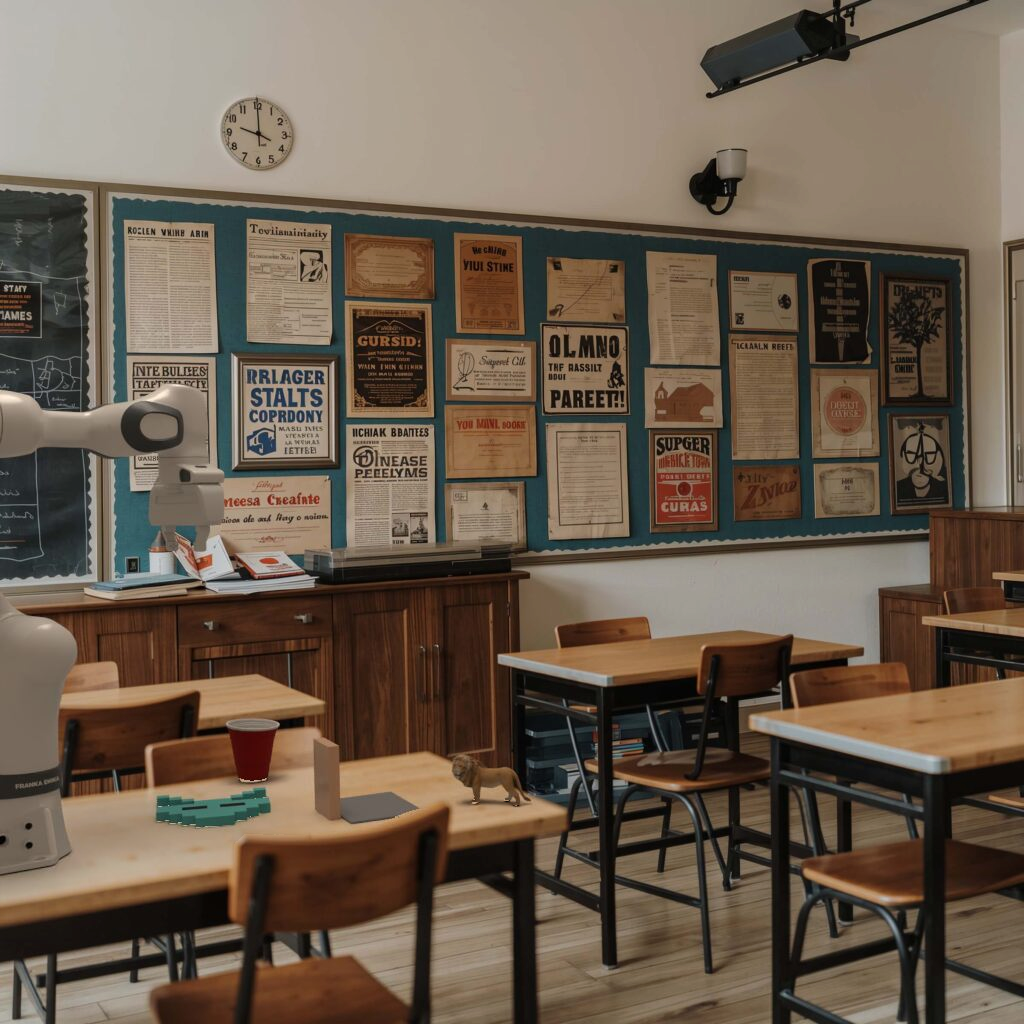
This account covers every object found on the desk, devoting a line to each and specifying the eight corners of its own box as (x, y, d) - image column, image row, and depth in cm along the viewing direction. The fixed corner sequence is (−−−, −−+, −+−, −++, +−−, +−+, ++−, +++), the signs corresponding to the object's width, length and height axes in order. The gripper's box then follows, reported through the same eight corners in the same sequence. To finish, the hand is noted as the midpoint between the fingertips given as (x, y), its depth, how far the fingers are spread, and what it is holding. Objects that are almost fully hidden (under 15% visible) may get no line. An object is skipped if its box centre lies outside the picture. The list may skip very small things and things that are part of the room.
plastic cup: (267, 787, 244) (266, 727, 244) (217, 785, 246) (216, 726, 246) (289, 775, 255) (288, 717, 254) (241, 773, 257) (239, 716, 257)
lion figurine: (450, 806, 225) (448, 757, 225) (455, 799, 231) (454, 751, 231) (529, 807, 223) (528, 757, 223) (533, 800, 229) (531, 751, 229)
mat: (351, 824, 214) (351, 822, 214) (320, 802, 230) (320, 800, 230) (425, 813, 220) (425, 811, 220) (391, 793, 237) (390, 791, 237)
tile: (329, 820, 217) (328, 747, 217) (314, 809, 225) (313, 738, 225) (340, 818, 218) (339, 745, 218) (325, 808, 226) (324, 737, 226)
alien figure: (157, 807, 231) (155, 834, 212) (157, 795, 231) (155, 821, 212) (265, 798, 237) (273, 824, 217) (265, 787, 237) (273, 811, 217)
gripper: (139, 476, 226) (140, 551, 226) (198, 472, 211) (200, 552, 212) (169, 476, 230) (171, 549, 230) (229, 472, 216) (231, 551, 216)
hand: (185, 551), depth 221 cm, fingers open, 8 cm apart
